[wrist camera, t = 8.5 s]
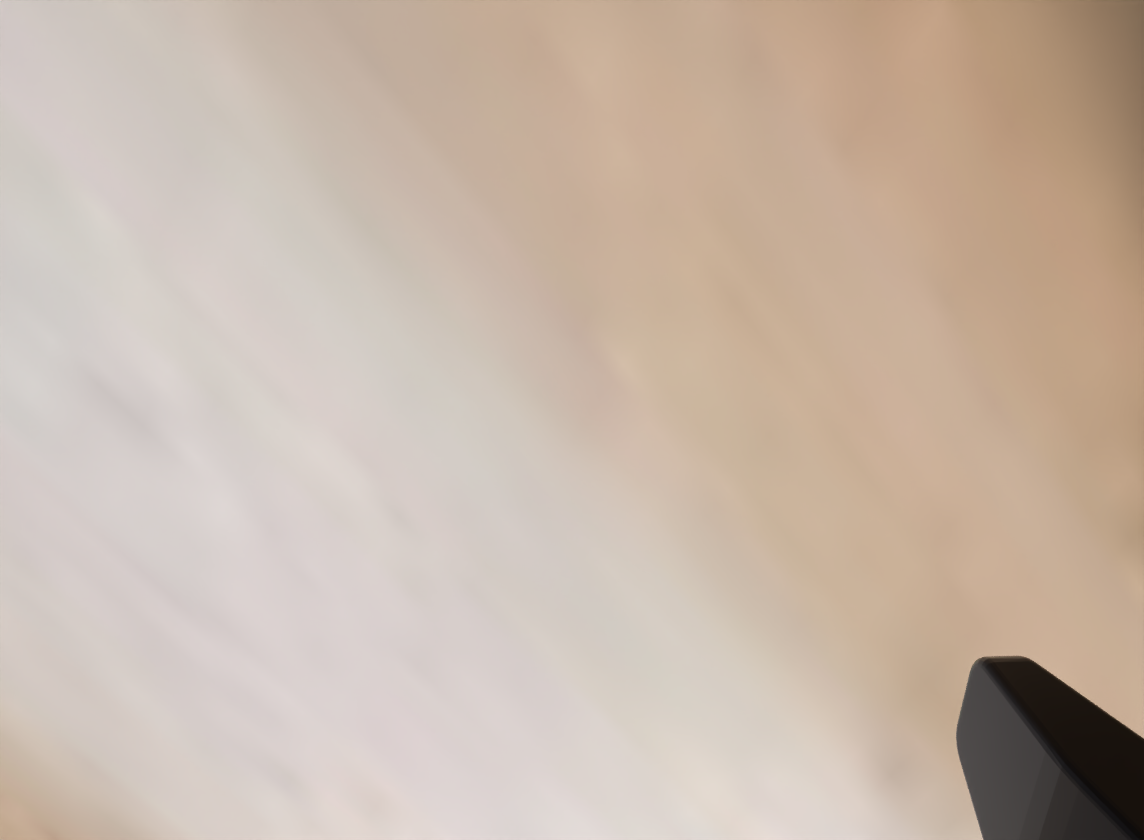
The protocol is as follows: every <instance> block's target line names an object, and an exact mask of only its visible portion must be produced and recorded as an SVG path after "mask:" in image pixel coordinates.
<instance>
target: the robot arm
mask: <svg viewBox="0 0 1144 840" xmlns="http://www.w3.org/2000/svg"><path fill="white" fill-rule="evenodd" d="M956 740H957V749H958V754H959V758H960V762H961V765H962V769H963V772H964V776H965V779H966V782H967V786H968V789H969V793H970V796H971V799H972V803H973V806H974V810H975V813H976V816H977V820H978V823H979V827H980V830H981V833H982V837H983V840H1144V739H1143V738H1142V737H1141V736H1139V735H1138V734H1136V733H1135V732H1134V731H1132V730H1131V729H1129V728H1128V727H1126V726H1125V725H1124V724H1122V723H1121V722H1119V721H1118V720H1117V719H1115V718H1114V717H1112V716H1111V715H1109V714H1108V713H1107V712H1105V711H1104V710H1102V709H1101V708H1099V707H1098V706H1097V705H1095V704H1094V703H1092V702H1091V701H1090V700H1088V699H1087V698H1085V697H1084V696H1082V695H1081V694H1080V693H1078V692H1077V691H1075V690H1074V689H1073V688H1071V687H1070V686H1068V685H1067V684H1065V683H1064V682H1063V681H1061V680H1060V679H1058V678H1057V677H1056V676H1054V675H1053V674H1051V673H1050V672H1048V671H1047V670H1046V669H1044V668H1043V667H1041V666H1040V665H1038V664H1037V663H1036V662H1034V661H1032V660H1031V659H1029V658H1026V657H1022V656H994V657H982V658H980V659H978V660H976V661H975V663H974V664H973V665H972V668H971V671H970V674H969V678H968V682H967V686H966V691H965V695H964V699H963V703H962V707H961V711H960V716H959V720H958V724H957V732H956Z"/></svg>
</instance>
